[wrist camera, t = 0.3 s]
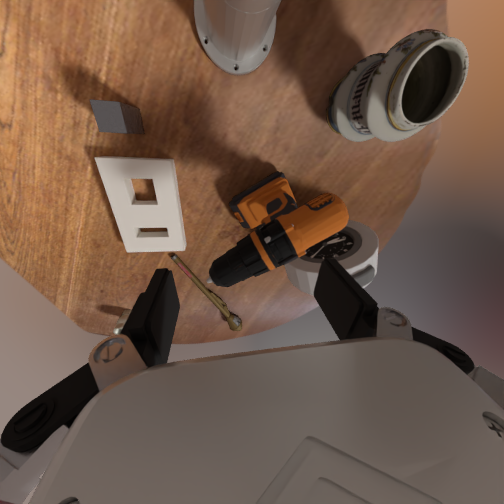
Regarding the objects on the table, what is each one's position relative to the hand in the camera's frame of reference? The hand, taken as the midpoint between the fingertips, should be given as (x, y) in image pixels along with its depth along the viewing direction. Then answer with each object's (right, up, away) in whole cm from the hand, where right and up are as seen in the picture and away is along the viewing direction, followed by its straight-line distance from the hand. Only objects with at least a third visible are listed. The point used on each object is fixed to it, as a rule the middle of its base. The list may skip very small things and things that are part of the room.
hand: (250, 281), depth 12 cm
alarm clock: (+17, +6, +42) cm, 45 cm away
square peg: (-22, +26, +22) cm, 41 cm away
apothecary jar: (+20, +31, +26) cm, 45 cm away
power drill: (0, +14, +34) cm, 36 cm away
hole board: (-23, +12, +31) cm, 40 cm away
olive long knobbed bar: (-13, -11, +47) cm, 50 cm away
